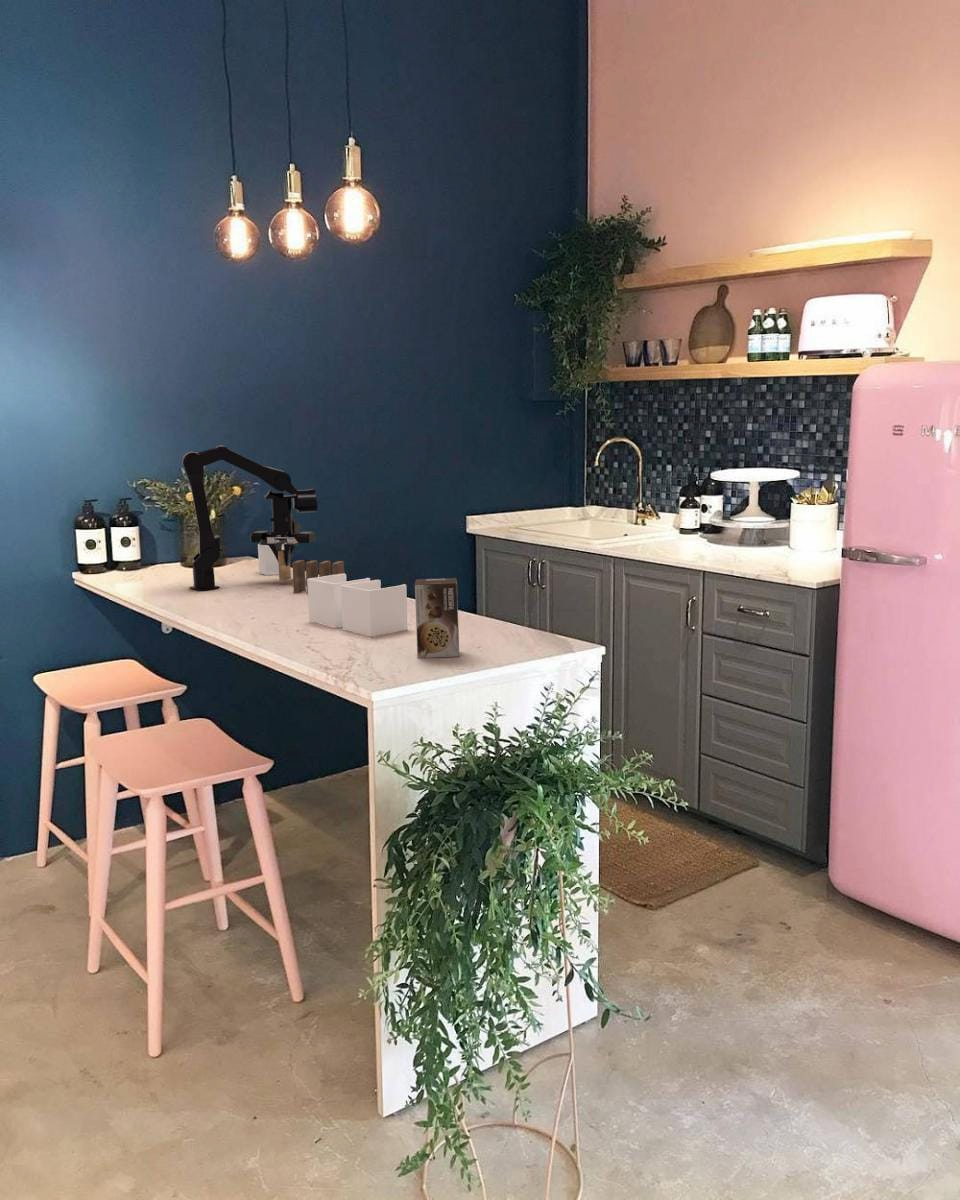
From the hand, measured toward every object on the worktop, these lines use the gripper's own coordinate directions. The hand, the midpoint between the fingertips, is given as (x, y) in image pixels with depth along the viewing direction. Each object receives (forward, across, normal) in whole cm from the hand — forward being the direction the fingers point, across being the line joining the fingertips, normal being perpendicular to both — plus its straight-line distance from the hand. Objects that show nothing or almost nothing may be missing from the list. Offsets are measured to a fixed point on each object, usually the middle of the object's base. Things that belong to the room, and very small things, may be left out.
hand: (284, 565), depth 332 cm
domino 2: (+5, -10, +12) cm, 16 cm away
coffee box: (+6, -71, +78) cm, 106 cm away
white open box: (+6, -43, +53) cm, 68 cm away
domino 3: (+5, -14, +12) cm, 19 cm away
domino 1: (+4, 0, 0) cm, 4 cm away
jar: (+6, +12, -18) cm, 22 cm away
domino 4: (+5, -18, +12) cm, 22 cm away
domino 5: (+5, -22, +12) cm, 26 cm away
